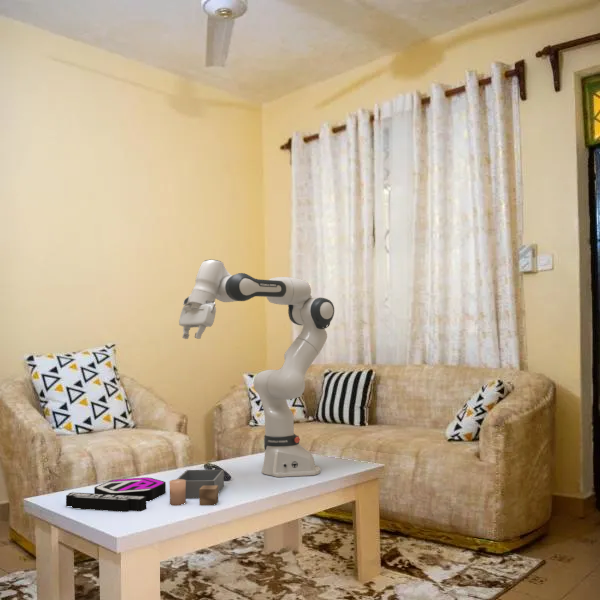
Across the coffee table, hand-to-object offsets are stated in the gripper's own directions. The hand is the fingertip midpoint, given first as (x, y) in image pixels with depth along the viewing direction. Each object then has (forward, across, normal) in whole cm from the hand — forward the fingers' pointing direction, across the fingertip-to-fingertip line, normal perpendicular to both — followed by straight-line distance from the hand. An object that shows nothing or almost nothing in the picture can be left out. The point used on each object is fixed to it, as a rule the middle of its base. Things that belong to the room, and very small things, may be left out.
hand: (191, 338), depth 227 cm
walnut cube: (+51, -22, -11) cm, 57 cm away
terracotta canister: (+54, -16, -4) cm, 56 cm away
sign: (+58, +2, +6) cm, 58 cm away
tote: (+50, -8, -16) cm, 53 cm away
